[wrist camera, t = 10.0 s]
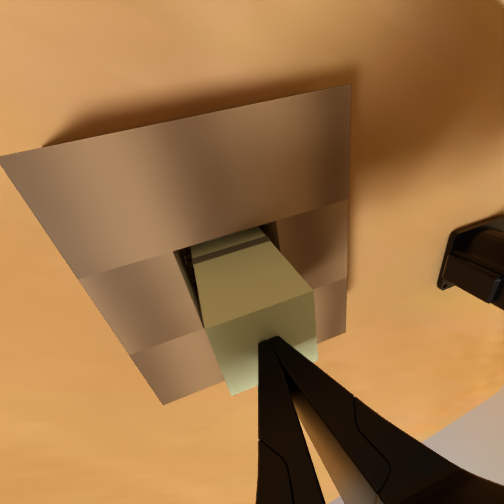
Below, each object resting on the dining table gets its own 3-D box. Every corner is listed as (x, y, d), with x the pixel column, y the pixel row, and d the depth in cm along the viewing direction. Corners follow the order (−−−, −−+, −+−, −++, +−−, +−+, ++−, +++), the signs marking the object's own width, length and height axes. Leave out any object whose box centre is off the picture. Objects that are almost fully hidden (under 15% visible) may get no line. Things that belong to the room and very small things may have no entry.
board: (316, 91, 13) (351, 83, 11) (324, 307, 21) (345, 332, 19) (35, 149, 11) (-5, 157, 8) (163, 367, 19) (163, 405, 16)
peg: (250, 217, 16) (314, 289, 9) (260, 269, 18) (318, 360, 11) (187, 235, 15) (203, 329, 8) (205, 287, 17) (230, 396, 10)
